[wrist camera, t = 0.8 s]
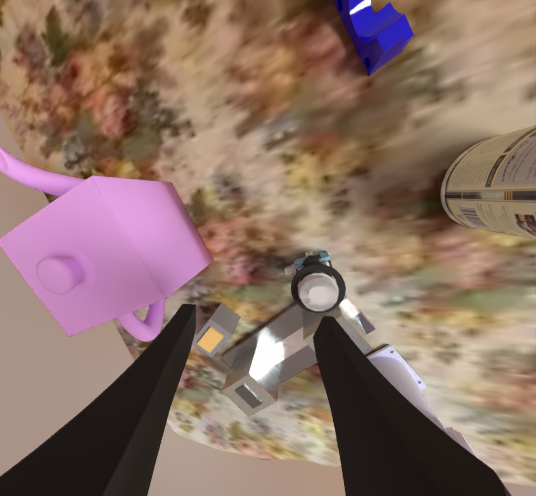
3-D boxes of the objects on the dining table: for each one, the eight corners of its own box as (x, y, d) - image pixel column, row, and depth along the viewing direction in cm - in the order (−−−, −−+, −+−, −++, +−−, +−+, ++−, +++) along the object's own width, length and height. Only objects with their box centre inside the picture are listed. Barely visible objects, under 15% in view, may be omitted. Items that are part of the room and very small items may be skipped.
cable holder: (400, 53, 21) (423, 21, 17) (368, 77, 22) (383, 52, 18) (365, -25, 19) (381, -78, 16) (333, 4, 20) (341, -39, 17)
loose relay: (240, 316, 33) (231, 336, 28) (222, 337, 34) (210, 359, 30) (221, 302, 32) (209, 319, 28) (204, 324, 34) (189, 344, 30)
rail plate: (372, 324, 29) (391, 358, 23) (260, 390, 36) (252, 428, 30) (330, 277, 28) (339, 299, 22) (222, 354, 35) (207, 386, 29)
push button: (291, 283, 29) (287, 326, 20) (279, 251, 28) (270, 280, 19) (335, 272, 28) (354, 312, 18) (324, 237, 27) (339, 262, 17)
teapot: (146, 133, 27) (-6, 73, 13) (228, 287, 31) (176, 355, 18) (75, 183, 31) (-99, 174, 17) (157, 313, 35) (71, 387, 22)
